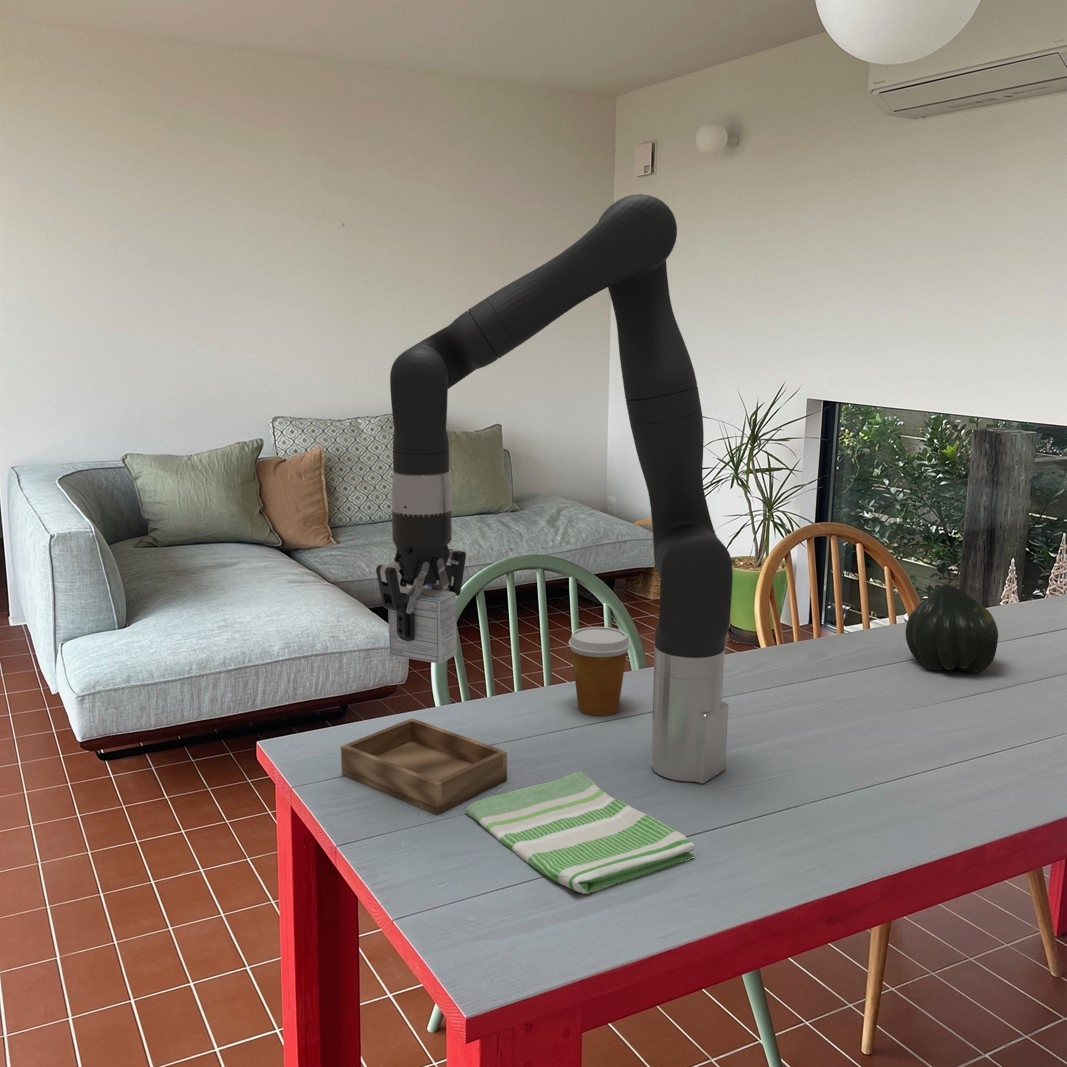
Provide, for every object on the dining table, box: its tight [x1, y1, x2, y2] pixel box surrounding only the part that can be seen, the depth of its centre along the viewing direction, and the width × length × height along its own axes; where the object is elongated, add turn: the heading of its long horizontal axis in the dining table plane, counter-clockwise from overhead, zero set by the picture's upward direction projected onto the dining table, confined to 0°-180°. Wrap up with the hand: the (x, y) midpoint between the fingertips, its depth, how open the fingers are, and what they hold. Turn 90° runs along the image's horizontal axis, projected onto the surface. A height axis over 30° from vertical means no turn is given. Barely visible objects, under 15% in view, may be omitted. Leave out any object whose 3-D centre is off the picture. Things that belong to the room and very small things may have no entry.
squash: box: [905, 583, 999, 674], centre depth 184 cm, size 14×15×15 cm
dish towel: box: [464, 771, 696, 895], centre depth 125 cm, size 18×23×3 cm
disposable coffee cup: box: [568, 626, 631, 716], centre depth 163 cm, size 10×10×12 cm
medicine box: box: [387, 585, 458, 665], centre depth 137 cm, size 8×4×9 cm, turn 64°
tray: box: [340, 717, 508, 816], centre depth 140 cm, size 18×13×4 cm
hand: (423, 634), depth 137 cm, fingers closed on medicine box, 5 cm apart
